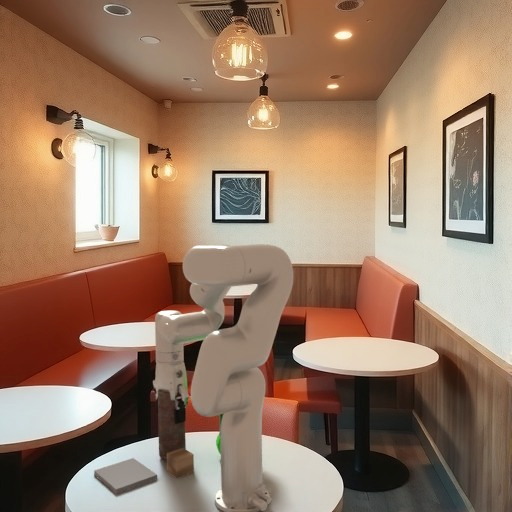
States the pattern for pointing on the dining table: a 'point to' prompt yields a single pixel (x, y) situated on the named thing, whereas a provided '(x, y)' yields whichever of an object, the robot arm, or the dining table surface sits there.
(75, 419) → the dining table surface
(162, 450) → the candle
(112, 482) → the slate board
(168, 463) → the walnut block
